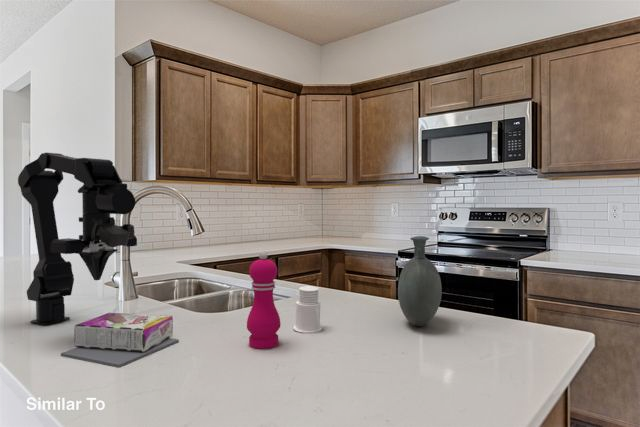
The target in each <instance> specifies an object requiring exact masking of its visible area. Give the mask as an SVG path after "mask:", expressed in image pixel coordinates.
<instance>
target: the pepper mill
mask: <svg viewBox="0 0 640 427" xmlns="http://www.w3.org/2000/svg"><path fill="white" fill-rule="evenodd" d="M258 258H259V259H256V260H254V261H252V263H251V264H250V265H249V270H248V271H249V272H248V275H249V277H250V278H251V279H252V282H251V289H252V290H253V302H252V306H251V309H250V311H249V314H248V317H247V321H246V329H247V330H248V332H249V333H250V336H248V345H249V346H250V347H251V348H253V349H259V350H265V349H267V350H268V349H271V348H275V347H277V346H278V345H279V335H278V334H277V332H278V331H279V330H280V328H281V318H280V315H279V313H278V309H277V308H276V305H275V301H274V290H275V288H276V286H275V285H276V281H275V280H274V279H275V278H276V277H277V275H278V267H277V264H276V263H275V262H274V261H273V260H271V259H268V254H267V252H266V251H262V252H260V253H259V254H258Z"/></svg>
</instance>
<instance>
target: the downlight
mask: <svg viewBox="0 0 640 427" xmlns="http://www.w3.org/2000/svg"><path fill="white" fill-rule="evenodd" d="M292 329H293V331H296V332H298V333H301V334H303V333H304V334H314V333H319V332H321V331H322V330H323V326H322V325H321V301H319V287H316V286H307V285H305V286H300V287H299V288H298V300H296V302H295V324H294V325H293V328H292Z"/></svg>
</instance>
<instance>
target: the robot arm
mask: <svg viewBox="0 0 640 427" xmlns="http://www.w3.org/2000/svg"><path fill="white" fill-rule="evenodd" d="M113 164H114V163H113V161H112V160H111V159H103V158H90V157H80V158H79V157H78V158H77V157H73V156H68V155H64V154H62V153H58V152H57V153H56V152H44V153H43V152H41V154H40V155H38V157H37V159H35V160H34V161H31V162H29V163H28V164H25V166H24V167H23V168H22V170H21V171H20V173H19V174H18V177H17V184H18V186H19V188H20V192H21V195H22V197H23V198H24V199H25V201H27V202H28V204H29V205H30V207H31V213H32V214H31V215H32V221H33V226H34V227H33V228H34V233H35V240H36V246H37V247H36V248H37V255H38V262H37V264H36V266H35V268H34V269H33V271H32V272H33V279H32V280H31V282H30V285H29V286H28V288H27V290H26V296H27V297H26V298H27V300H28V301H32V302H35V310H36V313H35V315H36V319H33V320H30V323H31V324H37V325H41V326H42V325H43V326H49V325H53V324H56V323H57V324H58V323H61V322H64V321H68V320H70V319H71V317H70V316H66V314H65V313H66V312H65V311H66V309H65V308H66V307H65V305H66V304H65V297H68V296H72V293H73V287H74V282H75V278H74V273H73V267H72V263H71V262H70V261H66V260H65V259H64V257H62V254H64V255H70V254H71V255H72V254H77V255H79V256H80V258H81V260H82V261H83V262H84V263H85V266H86V267H87V269H88V271H89V273H90V275H91V277H92V278H93V280H94V281H100V280H101V278H102V276H103V273H104V270H105V268H106V265H107V262H108V260H109V258H110V257H111V256H112V255H113V254H114V253H117V252H118V251H119V250H118V249H117V248H116V247H120V246H122V247H128V248H130V247H138V239H137V237H136V235H135V225H133V224H131V223H126V224H125V223H124V224H123V225H116V220H115V216H112V217H111V215H128V214H129V213H131V212H132V211H133V210H134V208H135V206H136V198H135V196H134V194H133V192H132V191H131V190H129V189H128V184H127V183H123V180H122V179H121V177H120V175H119V172H118V171H117V169H116V167H115V166H114V165H113ZM46 169H49V170H46ZM50 169H51V170H50ZM63 173H65V174H69V175H72V176H74V177H73V178H74V179H75V180H77V181H79V182H80V183H81V184H82V183H83V185H82V186H81V187H79V188H78V189H77V193H78V194H82V195H81V196H82V216H81V217H80V216H79V217H78V222H79V223H82V234H80V235H78V238H69V237H68V238H59V232H58V227H57V226H58V225H57V219H56V212H55V207H54V201H55V200H56V198H57V196H58V194H59V186H60V184H61V183H62V181H63V180H64V174H63ZM115 248H116V249H115Z"/></svg>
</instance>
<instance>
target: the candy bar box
mask: <svg viewBox="0 0 640 427" xmlns="http://www.w3.org/2000/svg"><path fill="white" fill-rule="evenodd" d="M173 320H174V318H173V315H162V314H161V315H159V314H141V313H140V314H139V313H137V314H136V313H119V312H108V313H105V314H102V315H100V316H97V317H94V318H91V319H88V320H86V321H83V322H80V323H76V324H75V325H74V328H73V329H74V347H75V348H77V347H85V348H99V349H112V350H126V351H140V352H145V351H146V350H148V349H150V348H152V347H154V346H156V345H157V344H159V343H161V342H163V341H165V340H167V339H169V338H172V337H173V335H174V334H173V333H174V332H173V328H174V327H173V325H174V324H173V323H174V321H173Z"/></svg>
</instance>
